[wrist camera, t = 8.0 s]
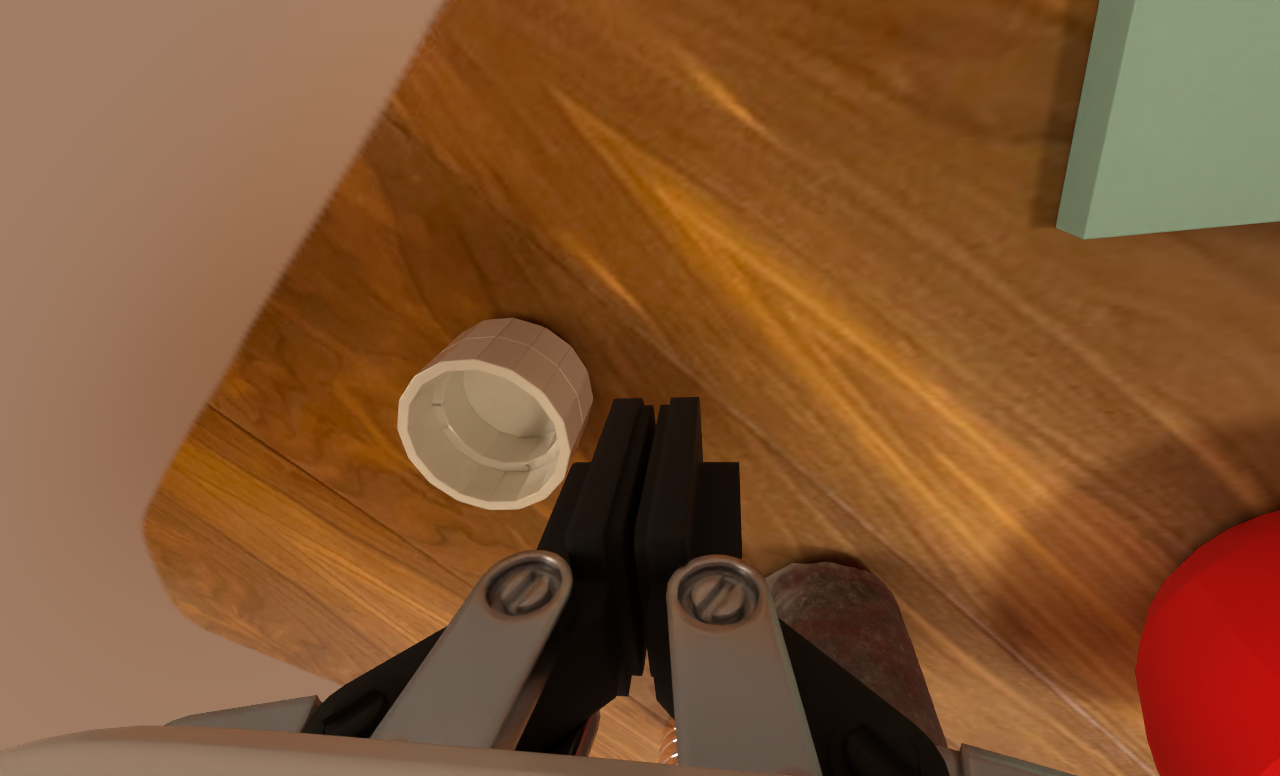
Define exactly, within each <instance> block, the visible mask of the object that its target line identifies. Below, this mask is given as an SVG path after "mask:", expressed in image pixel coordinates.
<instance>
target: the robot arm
mask: <svg viewBox="0 0 1280 776" xmlns="http://www.w3.org/2000/svg"><path fill="white" fill-rule="evenodd" d="M646 650H647V651H648V658H649V666H650V673H651V676H652V677H654V684H655V691H656V699H657V701H658V702H659V703H660V704H661V705H662V707H663V708H664V709H665V710H666V711H667V712H668V713H669V715H670V716H671V717H672V718H673V719H674V720H675V729H676V743H677V758H678V765H671V764H660V763H649V762H638V761H627V760H615V759H604V758H593V757H588V756H589V753H590V750H591V747H592V744H593V742H594V739H595V736H596V733H597V730H598V726H599V721H600V711H599V710H600V709H601V708H602V707H604V706H605V705H606V704H608V703H609V702H610V701H612V700H613V699H614V698H615V697H616V696H629V689H630V683H631V677H632V675H635V676H642V674H643V670H644V664H645V657H646ZM0 776H1076V775H1073V774H1069V773H1066V772H1062V771H1058V770H1055V769H1051V768H1048V767H1044V766H1041V765H1037V764H1034V763H1030V762H1027V761H1023V760H1020V759H1016V758H1013V757H1009V756H1006V755H1002V754H999V753H995V752H992V751H988V750H984V749H981V748H977V747H974V746H970V745H967V744H963V743H962V744H961V748H960V751H956V750H953V749H949V748H946V747H942V746H939V745H935V744H934V743H933V741H932V740H931V739H930V738H929V737H928V736H927V735H926V734H925V733H924V732H923V731H922V730H921V729H920V728H919V727H918V726H917V725H915V724H914V723H913V722H912V721H910V720H909V719H908V718H907V717H905V716H904V715H903V714H901V713H900V712H899V711H898V710H896V709H895V708H894V707H892V706H891V705H890V704H889V703H887V702H886V701H885V700H884V699H882V698H881V697H880V696H878V695H877V694H876V693H875V692H873V691H872V690H871V689H869V688H868V687H867V686H866V685H864V684H863V683H862V682H860V681H859V680H858V679H857V678H855V677H854V676H853V675H851V674H850V673H849V672H848V671H846V670H845V669H844V668H842V667H841V666H840V665H839V664H837V663H836V662H835V661H834V660H832V659H831V658H830V657H828V656H827V655H826V654H825V653H823V652H822V651H821V650H819V649H818V648H817V647H816V646H814V645H813V644H812V643H810V642H809V641H808V640H807V639H805V638H804V637H803V636H801V635H800V634H799V633H798V632H796V631H795V630H794V629H792V628H791V627H790V626H789V625H787V624H786V623H785V622H784V621H782V620H781V619H780V618H778V616H777V613H776V609H775V606H774V602H773V598H772V595H771V591H770V588H769V586H768V584H767V582H766V580H765V578H764V576H763V575H762V574H761V573H760V572H759V571H758V570H757V569H756V568H755V567H754V566H753V565H751V564H749V563H747V562H746V561H744V560H742V537H741V506H740V476H739V462H703V452H702V433H701V415H700V400H699V397H681V398H671V401H670V405H661V406H660V410H659V415H658V419H657V424H655V414H654V407H653V405H644V401H643V399H642V398H630V399H614V401H613V404H612V406H611V409H610V412H609V415H608V417H607V420H606V423H605V426H604V428H603V431H602V434H601V437H600V439H599V442H598V445H597V448H596V450H595V453H594V456H593V459H592V461H591V462H576V463H574V464H573V465H572V466H571V468H570V470H569V473H568V475H567V478H566V480H565V482H564V485H563V487H562V490H561V492H560V495H559V497H558V499H557V502H556V504H555V507H554V509H553V512H552V514H551V516H550V519H549V521H548V524H547V526H546V528H545V531H544V533H543V536H542V538H541V541H540V543H539V545H538V548H537V550H529V551H524V552H519V553H515V554H513V555H511V556H508V557H506V558H503V559H502V560H500V561H499V562H497V563H496V564H495V565H493V566H492V567H490V569H489V570H488V571H487V572H486V573H485V574H484V575H483V576H482V577H481V579H480V580H479V582H478V583H477V584H476V586H475V587H474V589H473V590H472V592H471V593H470V595H469V596H468V597H467V599H466V600H465V602H464V603H463V605H462V606H461V607H460V609H459V610H458V612H457V613H456V615H455V616H454V618H453V619H452V620H451V622H450V623H449V625H448V626H446V627H445V628H443V629H441V630H440V631H438V632H436V633H434V634H433V635H431V636H429V637H427V638H426V639H424V640H422V641H420V642H419V643H417V644H415V645H413V646H412V647H410V648H408V649H407V650H405V651H403V652H401V653H400V654H398V655H396V656H394V657H393V658H391V659H389V660H387V661H386V662H384V663H382V664H380V665H379V666H377V667H375V668H374V669H372V670H370V671H368V672H367V673H365V674H363V675H361V676H360V677H358V678H356V679H354V680H353V681H351V682H349V683H347V684H346V685H344V686H343V687H342V688H340V689H339V690H337V691H336V692H335V693H333V694H332V695H330V696H329V697H328V698H327V699H326V700H325V701H324V702H321V701H320V700H319V698H318V696H317V695H314V696H309V697H302V698H295V699H290V700H283V701H277V702H270V703H264V704H257V705H251V706H246V707H239V708H232V709H226V710H220V711H213V712H207V713H201V714H194V715H190V716H186V717H183V718H180V719H177V720H174V721H171V722H169V723H167V724H166V725H164V726H131V727H120V728H108V729H96V730H89V731H83V732H78V733H72V734H66V735H61V736H56V737H50V738H45V739H40V740H36V741H33V742H29V743H26V744H22V745H18V746H15V747H12V748H8V749H5V750H1V751H0Z"/></svg>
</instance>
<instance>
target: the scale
mask: <svg viewBox="0 0 1280 776" xmlns="http://www.w3.org/2000/svg"><path fill="white" fill-rule="evenodd" d="M1278 221H1280V0H1100V1H1099V6H1098V11H1097V16H1096V21H1095V26H1094V32H1093V37H1092V42H1091V47H1090V52H1089V57H1088V62H1087V68H1086V73H1085V78H1084V83H1083V88H1082V93H1081V99H1080V104H1079V109H1078V114H1077V119H1076V124H1075V130H1074V135H1073V140H1072V145H1071V150H1070V155H1069V160H1068V166H1067V171H1066V176H1065V181H1064V186H1063V191H1062V197H1061V202H1060V207H1059V212H1058V217H1057V222H1056V228H1058V229H1060V230H1062V231H1065V232H1067V233H1069V234H1072V235H1074V236H1076V237H1079V238H1081V239H1084V240H1085V239H1096V238H1107V237H1117V236H1128V235H1139V234H1150V233H1160V232H1171V231H1182V230H1192V229H1203V228H1214V227H1225V226H1235V225H1246V224H1257V223H1267V222H1278Z"/></svg>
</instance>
